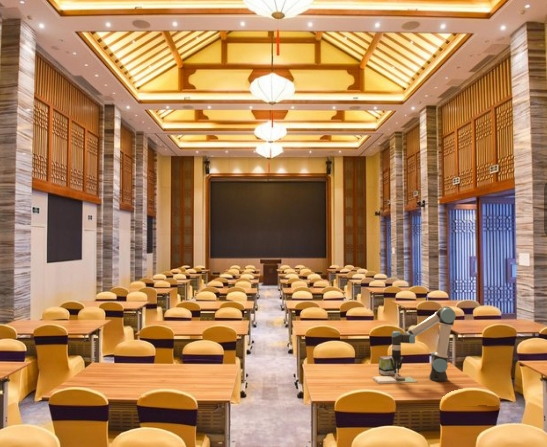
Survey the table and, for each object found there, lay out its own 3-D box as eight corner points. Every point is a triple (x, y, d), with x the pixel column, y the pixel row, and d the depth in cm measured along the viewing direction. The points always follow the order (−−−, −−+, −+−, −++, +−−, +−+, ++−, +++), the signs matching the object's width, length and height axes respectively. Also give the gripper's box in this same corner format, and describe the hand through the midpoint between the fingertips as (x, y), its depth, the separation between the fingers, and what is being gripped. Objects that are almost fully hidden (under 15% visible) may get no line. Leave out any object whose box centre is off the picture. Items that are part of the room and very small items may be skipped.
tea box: (384, 375, 432) (384, 359, 433) (378, 373, 441) (378, 356, 442) (398, 374, 438) (398, 357, 438) (392, 371, 447) (392, 355, 448)
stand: (390, 378, 424) (390, 376, 424) (396, 382, 410) (396, 380, 410) (372, 379, 421) (372, 376, 421) (378, 383, 408) (378, 381, 408)
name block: (402, 378, 422) (402, 376, 422) (405, 380, 416) (405, 378, 416) (392, 379, 420) (392, 376, 420) (395, 381, 414) (395, 378, 414)
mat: (410, 377, 427) (410, 377, 427) (417, 381, 413) (417, 381, 413) (391, 378, 424) (391, 377, 424) (397, 382, 410) (397, 382, 410)
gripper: (401, 348, 423) (401, 375, 423) (387, 348, 421) (387, 376, 420) (405, 350, 416) (405, 377, 415) (391, 350, 414) (391, 378, 413)
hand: (396, 376), depth 418 cm, fingers closed
